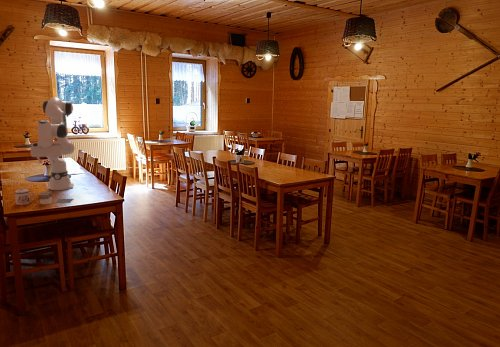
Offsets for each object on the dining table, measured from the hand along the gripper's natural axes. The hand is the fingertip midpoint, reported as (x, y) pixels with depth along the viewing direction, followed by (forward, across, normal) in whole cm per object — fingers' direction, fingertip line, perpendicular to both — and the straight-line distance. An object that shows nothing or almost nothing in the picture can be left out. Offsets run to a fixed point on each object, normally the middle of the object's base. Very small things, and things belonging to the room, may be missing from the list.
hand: (47, 162), depth 268 cm
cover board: (+22, 0, +11) cm, 25 cm away
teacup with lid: (+28, +15, +7) cm, 32 cm away
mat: (+28, -11, +8) cm, 31 cm away
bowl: (+27, 0, +12) cm, 30 cm away
